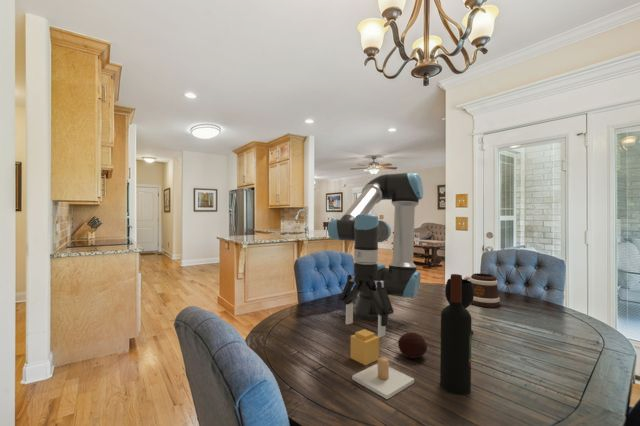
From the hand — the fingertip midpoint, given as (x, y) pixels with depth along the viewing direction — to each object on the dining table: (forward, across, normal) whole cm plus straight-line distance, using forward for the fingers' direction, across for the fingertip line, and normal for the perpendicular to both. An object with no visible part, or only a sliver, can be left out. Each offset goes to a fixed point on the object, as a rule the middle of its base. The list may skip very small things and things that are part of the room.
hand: (364, 329), depth 97 cm
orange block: (+9, 0, 0) cm, 9 cm away
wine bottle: (+10, +26, +8) cm, 29 cm away
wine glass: (+9, +8, +48) cm, 49 cm away
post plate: (+10, +12, -6) cm, 16 cm away
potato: (+10, +9, +14) cm, 19 cm away
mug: (+8, -4, +96) cm, 96 cm away
